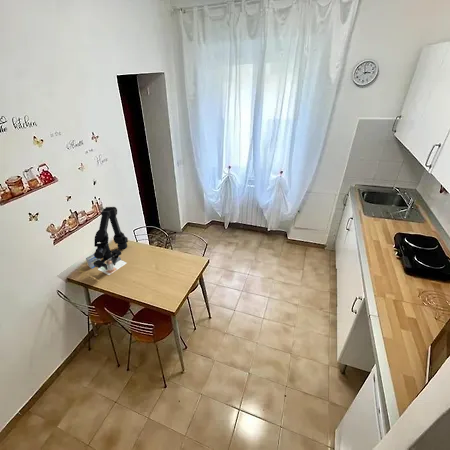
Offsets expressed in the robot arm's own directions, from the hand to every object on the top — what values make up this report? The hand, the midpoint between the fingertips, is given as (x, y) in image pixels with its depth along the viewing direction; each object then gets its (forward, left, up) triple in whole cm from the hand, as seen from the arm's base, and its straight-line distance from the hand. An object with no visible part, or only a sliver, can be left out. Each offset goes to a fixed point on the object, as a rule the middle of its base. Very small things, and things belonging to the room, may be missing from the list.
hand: (110, 267), depth 181 cm
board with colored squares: (-3, -4, -3) cm, 6 cm away
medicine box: (+2, -16, -4) cm, 17 cm away
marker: (0, 0, -2) cm, 2 cm away
